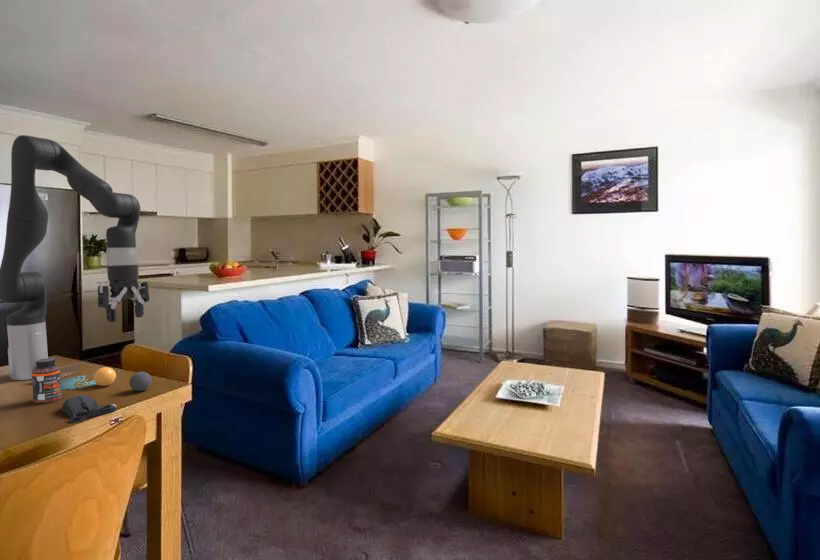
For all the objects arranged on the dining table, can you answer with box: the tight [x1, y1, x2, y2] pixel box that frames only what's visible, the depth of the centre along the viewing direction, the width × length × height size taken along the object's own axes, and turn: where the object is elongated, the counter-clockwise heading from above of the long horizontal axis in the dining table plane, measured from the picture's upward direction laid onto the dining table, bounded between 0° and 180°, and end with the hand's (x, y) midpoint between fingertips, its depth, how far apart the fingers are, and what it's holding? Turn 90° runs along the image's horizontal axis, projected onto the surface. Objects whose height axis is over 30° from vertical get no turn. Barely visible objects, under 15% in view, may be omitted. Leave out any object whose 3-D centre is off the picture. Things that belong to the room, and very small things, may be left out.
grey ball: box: [128, 371, 153, 392], centre depth 128 cm, size 6×6×6 cm
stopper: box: [59, 362, 81, 379], centre depth 140 cm, size 2×12×3 cm, turn 162°
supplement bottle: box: [31, 357, 62, 404], centre depth 120 cm, size 6×6×11 cm
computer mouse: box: [61, 394, 117, 424], centre depth 113 cm, size 10×15×4 cm
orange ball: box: [93, 366, 117, 387], centre depth 133 cm, size 6×6×6 cm
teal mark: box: [61, 374, 97, 391], centre depth 136 cm, size 14×14×1 cm
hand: (126, 319), depth 128 cm, fingers open, 8 cm apart
